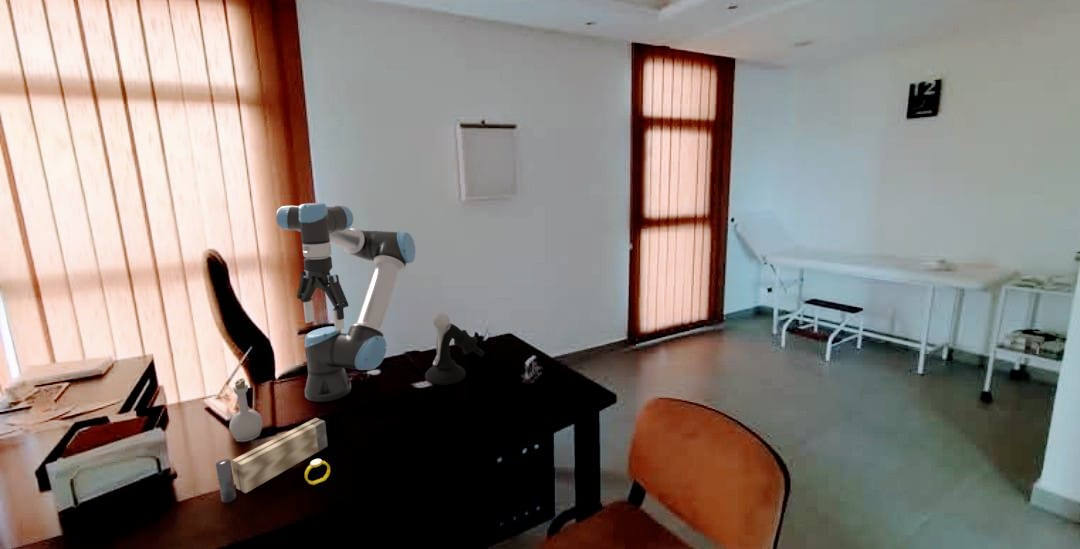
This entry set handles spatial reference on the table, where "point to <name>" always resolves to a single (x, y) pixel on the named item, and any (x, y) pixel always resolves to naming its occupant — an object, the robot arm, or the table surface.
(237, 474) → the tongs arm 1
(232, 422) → the potion bottle
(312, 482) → the gold ring
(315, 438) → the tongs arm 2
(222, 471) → the post
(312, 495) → the table surface
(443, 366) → the sculpture
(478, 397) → the table surface
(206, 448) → the table surface
